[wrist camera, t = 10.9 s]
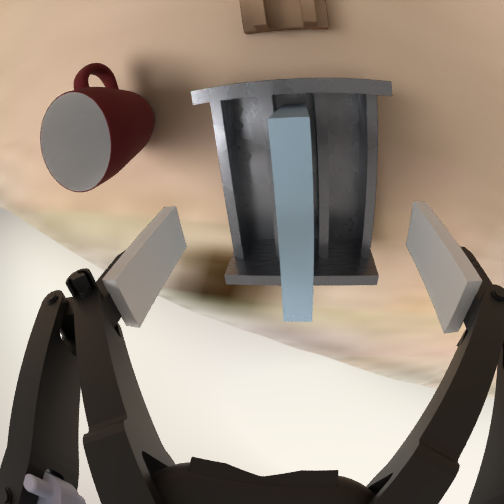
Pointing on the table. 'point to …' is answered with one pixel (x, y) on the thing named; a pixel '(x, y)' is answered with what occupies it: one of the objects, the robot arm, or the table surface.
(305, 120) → the light blue slab
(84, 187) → the mug
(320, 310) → the table surface
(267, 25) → the stand
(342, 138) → the rack
